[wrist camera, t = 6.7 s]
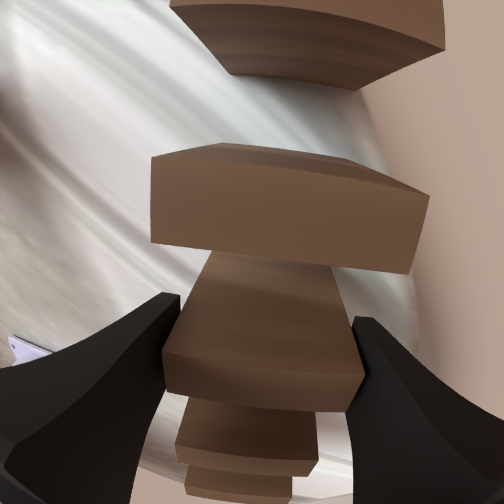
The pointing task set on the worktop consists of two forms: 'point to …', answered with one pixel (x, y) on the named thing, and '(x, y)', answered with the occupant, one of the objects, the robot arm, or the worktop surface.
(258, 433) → the domino
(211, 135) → the worktop surface
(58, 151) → the worktop surface
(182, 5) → the domino
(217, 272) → the domino
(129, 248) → the worktop surface
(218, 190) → the domino
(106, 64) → the worktop surface
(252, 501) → the domino
